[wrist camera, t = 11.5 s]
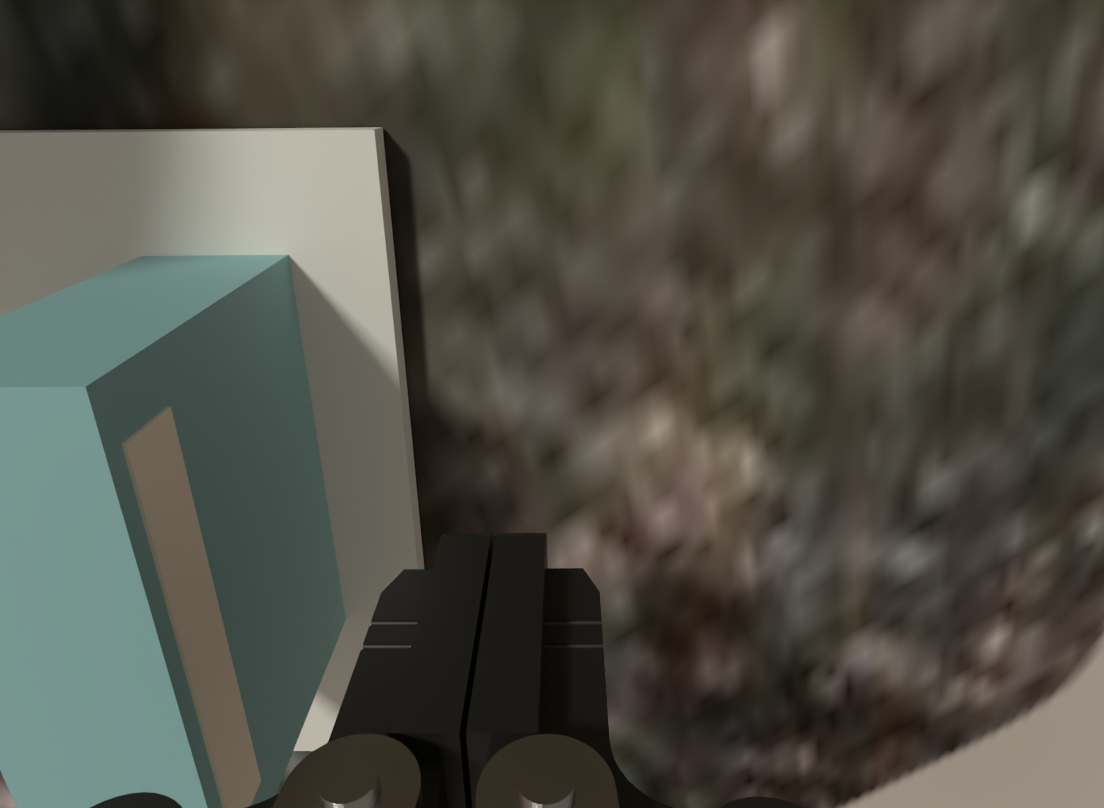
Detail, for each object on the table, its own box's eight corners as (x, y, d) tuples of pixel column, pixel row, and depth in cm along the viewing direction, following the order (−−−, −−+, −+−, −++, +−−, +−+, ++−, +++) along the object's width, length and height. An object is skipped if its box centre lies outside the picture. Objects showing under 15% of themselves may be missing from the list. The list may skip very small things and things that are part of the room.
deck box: (138, 256, 13) (-172, 388, 8) (291, 254, 13) (90, 387, 7) (225, 619, 16) (52, 897, 11) (348, 619, 16) (236, 898, 11)
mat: (-363, 133, 13) (-405, 136, 12) (382, 126, 13) (374, 129, 12) (-79, 728, 19) (-99, 747, 18) (439, 731, 18) (435, 751, 18)
